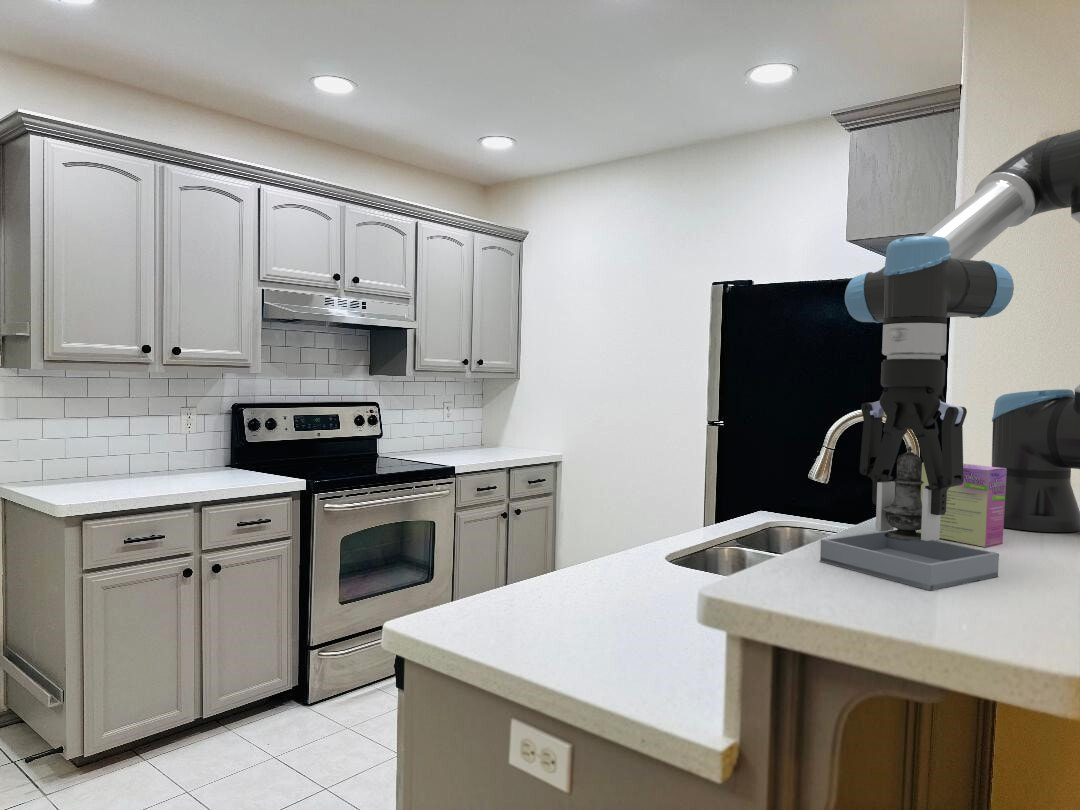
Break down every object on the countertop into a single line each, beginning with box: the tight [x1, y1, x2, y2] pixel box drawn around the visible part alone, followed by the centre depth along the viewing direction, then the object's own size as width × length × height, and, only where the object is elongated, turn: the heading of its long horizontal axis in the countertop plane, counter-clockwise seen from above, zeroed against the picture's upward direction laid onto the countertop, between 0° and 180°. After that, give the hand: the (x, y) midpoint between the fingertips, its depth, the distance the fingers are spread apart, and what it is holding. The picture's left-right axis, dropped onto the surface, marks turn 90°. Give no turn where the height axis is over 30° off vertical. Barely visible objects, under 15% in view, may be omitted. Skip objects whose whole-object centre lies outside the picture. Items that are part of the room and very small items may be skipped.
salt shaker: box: [883, 445, 924, 542], centre depth 101 cm, size 6×6×12 cm
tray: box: [819, 530, 1000, 591], centre depth 102 cm, size 14×16×3 cm
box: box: [918, 462, 1007, 548], centre depth 121 cm, size 10×6×12 cm, turn 34°
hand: (906, 534), depth 102 cm, fingers closed on salt shaker, 6 cm apart
